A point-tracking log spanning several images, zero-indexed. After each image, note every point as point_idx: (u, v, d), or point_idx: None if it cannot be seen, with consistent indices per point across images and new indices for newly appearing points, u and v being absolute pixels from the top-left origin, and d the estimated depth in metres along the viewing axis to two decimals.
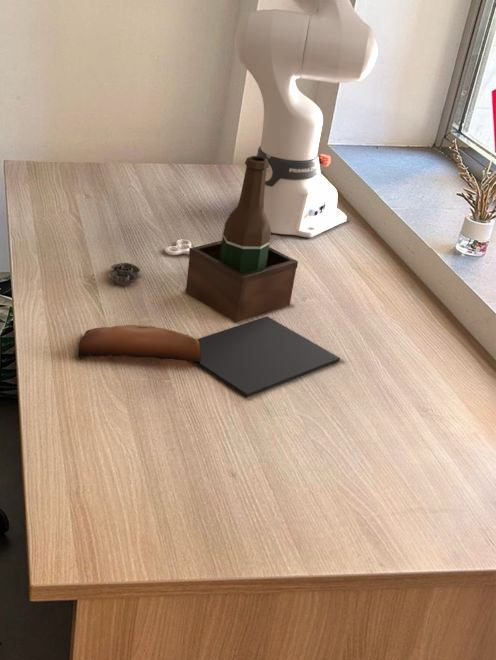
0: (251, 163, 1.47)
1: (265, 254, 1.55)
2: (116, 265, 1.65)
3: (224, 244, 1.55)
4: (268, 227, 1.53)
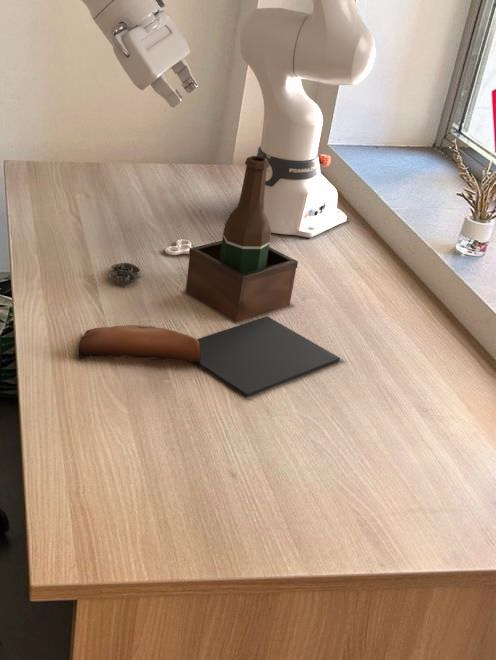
0: (251, 163, 1.47)
1: (265, 254, 1.55)
2: (116, 265, 1.65)
3: (224, 244, 1.55)
4: (268, 227, 1.53)
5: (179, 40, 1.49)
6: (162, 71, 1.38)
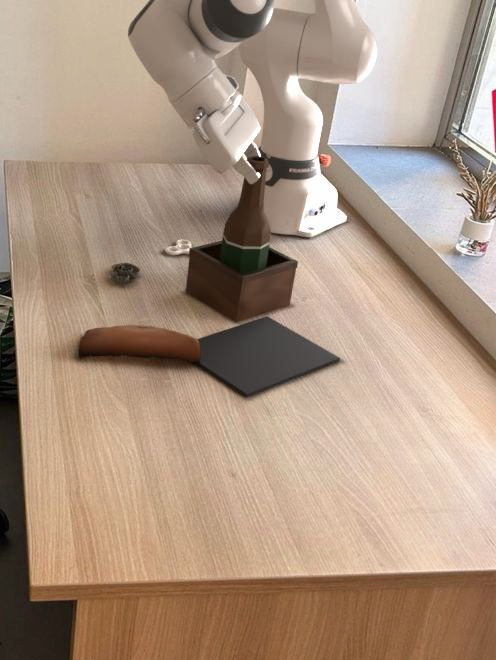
0: (251, 163, 1.47)
1: (265, 254, 1.55)
2: (116, 265, 1.65)
3: (224, 244, 1.55)
4: (268, 227, 1.53)
5: (251, 118, 1.52)
6: (240, 155, 1.41)
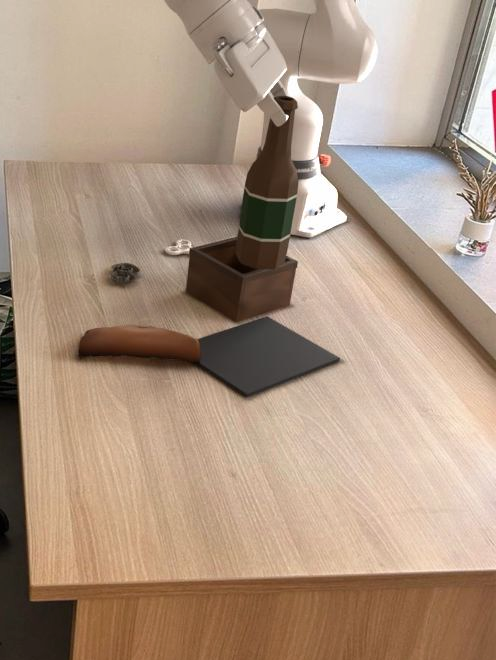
0: (278, 103, 1.30)
1: (292, 208, 1.39)
2: (116, 265, 1.65)
3: (246, 197, 1.38)
4: (296, 177, 1.36)
5: (277, 56, 1.36)
6: (267, 91, 1.25)
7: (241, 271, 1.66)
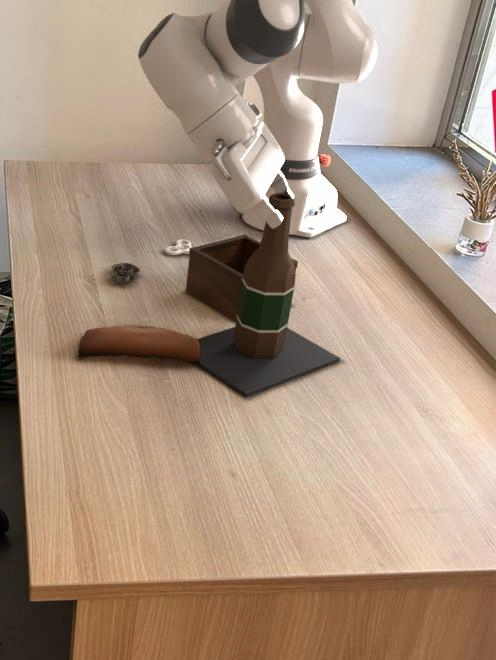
0: (275, 202, 1.32)
1: (289, 300, 1.40)
2: (116, 265, 1.65)
3: (244, 289, 1.40)
4: (293, 271, 1.38)
5: (274, 149, 1.37)
6: (264, 192, 1.26)
7: (241, 271, 1.66)
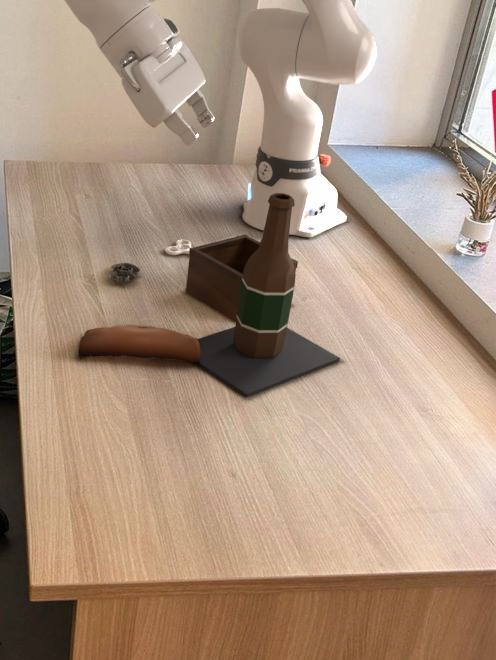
0: (275, 202, 1.32)
1: (289, 300, 1.40)
2: (116, 265, 1.65)
3: (244, 289, 1.40)
4: (293, 271, 1.38)
5: (194, 69, 1.34)
6: (176, 106, 1.23)
7: (241, 271, 1.66)
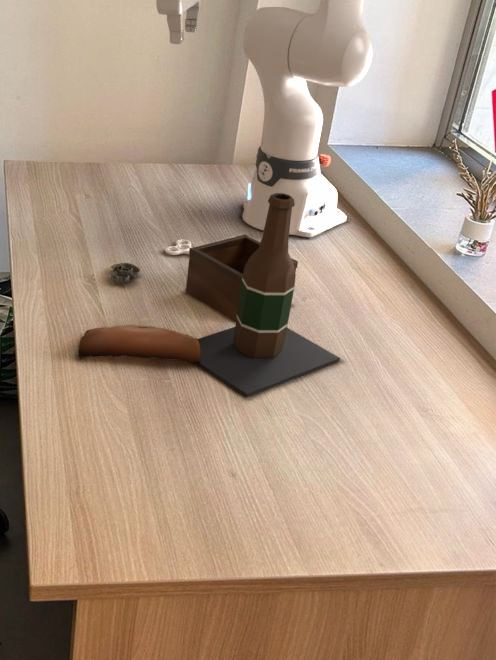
0: (275, 202, 1.32)
1: (289, 300, 1.40)
2: (116, 265, 1.65)
3: (244, 289, 1.40)
4: (293, 271, 1.38)
5: None
6: (184, 10, 1.38)
7: (241, 271, 1.66)
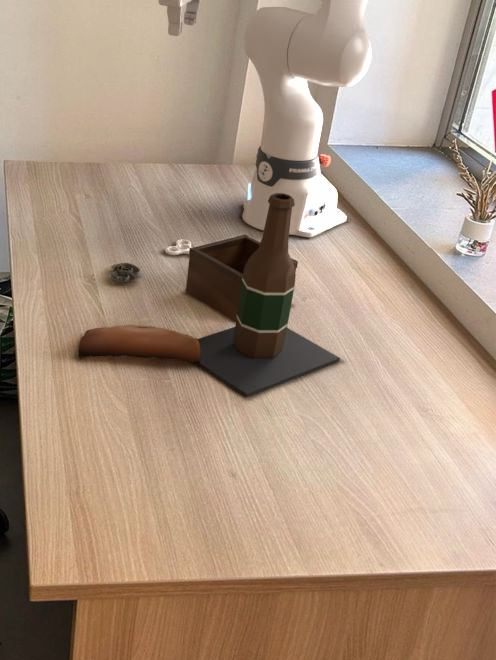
0: (275, 202, 1.32)
1: (289, 300, 1.40)
2: (116, 265, 1.65)
3: (244, 289, 1.40)
4: (293, 271, 1.38)
5: None
6: (185, 3, 1.40)
7: (241, 271, 1.66)
